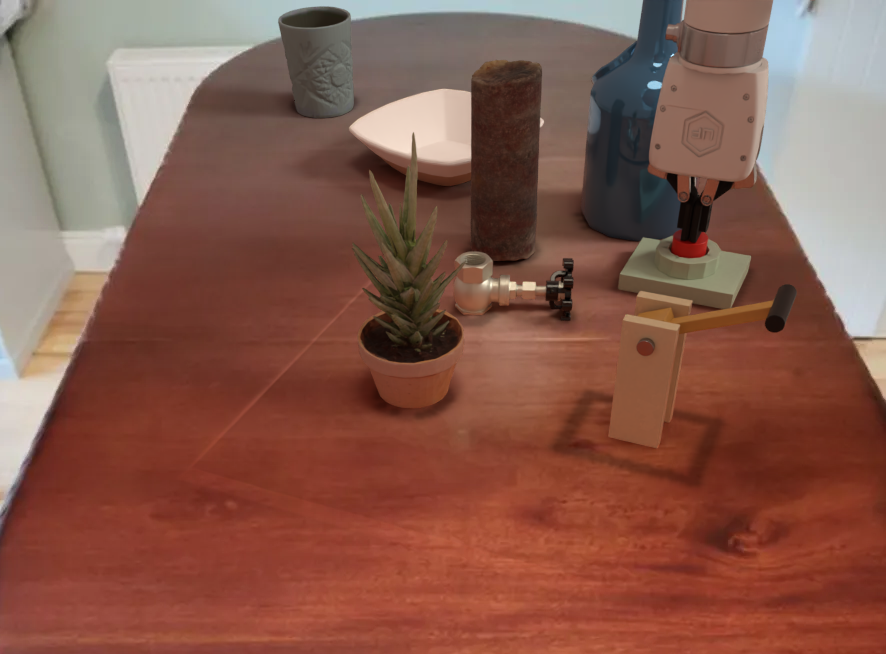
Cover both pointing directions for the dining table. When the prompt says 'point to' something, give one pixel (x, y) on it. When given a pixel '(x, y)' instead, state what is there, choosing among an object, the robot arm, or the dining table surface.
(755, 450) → the dining table surface
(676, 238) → the button
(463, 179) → the bowl
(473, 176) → the brown textured cylinder
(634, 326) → the bracket
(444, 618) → the dining table surface
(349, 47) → the grey embossed cup
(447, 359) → the potted plant
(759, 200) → the dining table surface
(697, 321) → the lever
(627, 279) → the button block
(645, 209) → the wine bottle
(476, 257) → the valve
